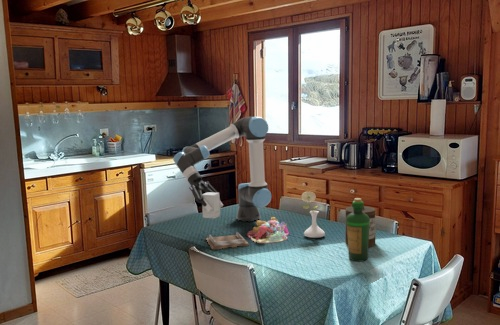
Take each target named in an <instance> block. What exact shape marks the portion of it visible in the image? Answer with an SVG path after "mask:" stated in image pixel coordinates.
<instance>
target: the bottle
mask: <svg viewBox="0 0 500 325" xmlns="http://www.w3.org/2000/svg"><path fill="white" fill-rule="evenodd" d="M363 203H364V200H362V198H360V197H355V198H354V200H353V201H352V204H351V206H352V207H353V211H354V212H352V213H350V214H349V215H348V216H347V218H346V217H345V221H346V220H347V235H348V245H347V246H348V247H347V248H348V258H349V259H350V260H352V261H355V262H362V261H366V260H367V259H368V257H369V247H368V244H369V226H370V218H369V217H368V215H367V214H365V213H364V212H362V211H363V207H364V206H365V205H364V204H363Z"/></svg>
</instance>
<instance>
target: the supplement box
mask: <svg viewBox="0 0 500 325" xmlns="http://www.w3.org/2000/svg"><path fill="white" fill-rule="evenodd" d="M202 196H203V200H204V199H205V200H206V201H207V203H208V204H209V205H210V207H211V208H212V209H211V210H210V211H209V212H208V211H207V210H206V208H205V207H204V206H203V205H202V204H201V206H202V208H201V209H202V210H201V211H202V218H203V219H204V218H206V219H216V218H219V217H220V216H221V208H220V201H221V198H220V192H218V193H215V192H205V193H202Z"/></svg>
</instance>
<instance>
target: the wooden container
mask: <svg viewBox="0 0 500 325" xmlns="http://www.w3.org/2000/svg"><path fill="white" fill-rule="evenodd" d="M363 204H364V202H363ZM352 212H354V211H353V207H352V205H350V206H348V207H346V208H345V226H344V227H345V229H344V230H345V235H344V238H345V243H344V244H345V245H347V246H348V235H347V220H346V218H347V216H348V215H349V214H350V213H352ZM362 212H364V213H365V214H367V215H368V217H369V218H370V226H369V244H368V248H372V247H374V246H375V245H376V208H374V207H372V206H368V205H364V207H363V211H362Z"/></svg>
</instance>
